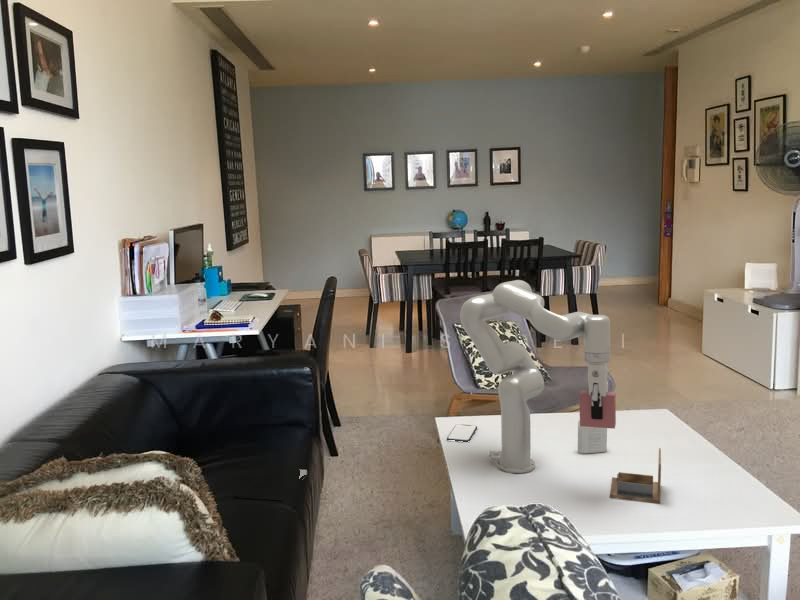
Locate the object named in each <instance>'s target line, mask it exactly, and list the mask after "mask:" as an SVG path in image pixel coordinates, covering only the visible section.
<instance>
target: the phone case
mask: <svg viewBox="0 0 800 600" xmlns="http://www.w3.org/2000/svg"><path fill="white" fill-rule="evenodd" d="M476 430H477V431H478V426H477V425H473V424H458V423H457V424H455V425H454V427H453V428H452V430H451V431H450V432H449V434H448V436H447V438H446V441H447V440H455V441H463V442H468V441H470V440H472V439H473V437H474V436H475V434H476V432H477V431H476ZM475 431H476V432H475ZM473 435H474V436H473ZM472 436H473V437H472ZM471 438H472V439H471ZM463 442H462V443H463ZM470 442H471V441H470ZM468 443H469V442H468Z"/></svg>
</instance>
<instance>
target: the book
mask: <svg viewBox="0 0 800 600" xmlns="http://www.w3.org/2000/svg"><path fill="white" fill-rule="evenodd" d="M579 391H580V392H579V421H580V426H584V427H599V428H607V429H614V430H615V429H616V425H617V423H616V422H617V421H616V420H617V416H616V415H617V414H616V407H617V406H616V404H617V403H616V400H617V399H616V398H617V397H616V391H608V392H607V395H606V397H604V396H602V406H603V419H602V420H599V419H592V418H591V405H592V396H590V395H589V390H583V389H581V390H579ZM598 396H600V394H598ZM598 399H599V398H598Z"/></svg>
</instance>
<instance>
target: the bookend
mask: <svg viewBox="0 0 800 600" xmlns="http://www.w3.org/2000/svg"><path fill="white" fill-rule="evenodd" d="M617 495H620V496H628V497H637V498H646V499H653V485H648V484H639V483H629V482H620V481H617Z"/></svg>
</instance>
